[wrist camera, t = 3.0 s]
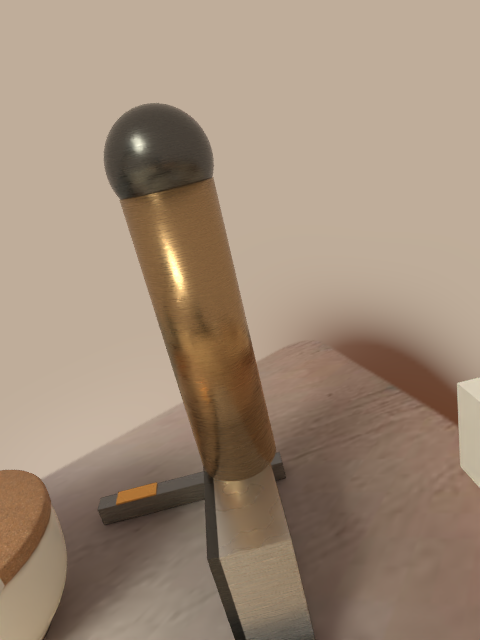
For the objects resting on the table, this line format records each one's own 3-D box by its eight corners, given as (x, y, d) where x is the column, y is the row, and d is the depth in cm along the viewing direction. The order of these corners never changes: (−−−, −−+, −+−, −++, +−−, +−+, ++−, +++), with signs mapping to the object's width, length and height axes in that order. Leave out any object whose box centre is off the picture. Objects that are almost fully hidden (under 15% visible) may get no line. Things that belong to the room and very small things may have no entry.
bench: (-309, 884, 18) (-513, 756, 14) (-85, 562, 32) (-158, 458, 28) (354, 701, 18) (321, 536, 15) (282, 467, 33) (256, 355, 29)
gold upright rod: (244, 681, 20) (36, 92, 11) (225, 495, 31) (114, 130, 22) (334, 656, 20) (203, 53, 11) (282, 480, 31) (196, 111, 22)
